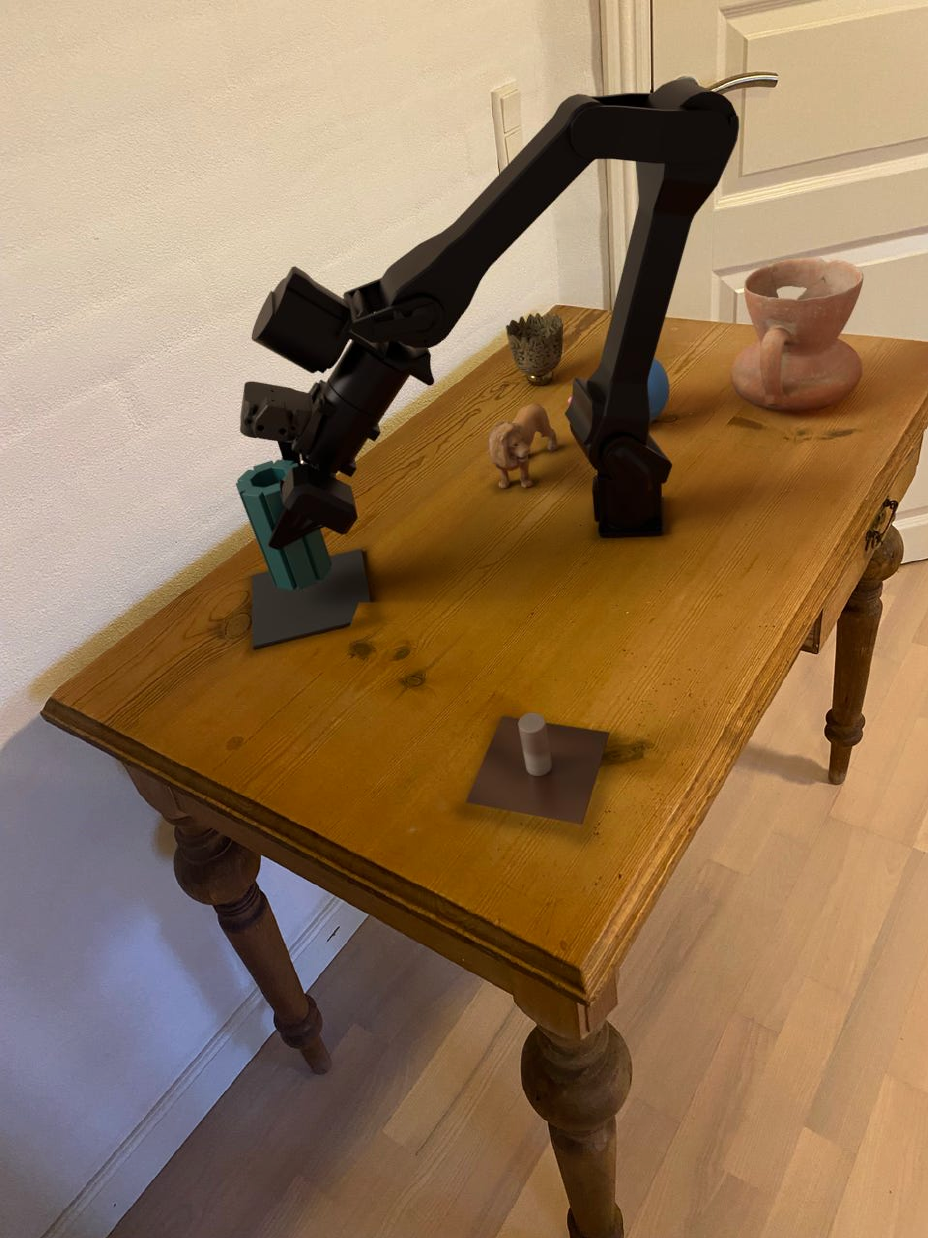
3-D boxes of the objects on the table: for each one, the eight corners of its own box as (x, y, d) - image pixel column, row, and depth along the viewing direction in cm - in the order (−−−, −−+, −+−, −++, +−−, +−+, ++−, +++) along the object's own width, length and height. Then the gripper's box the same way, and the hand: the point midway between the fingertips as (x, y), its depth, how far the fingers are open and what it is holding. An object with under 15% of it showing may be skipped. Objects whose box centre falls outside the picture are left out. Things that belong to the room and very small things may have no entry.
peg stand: (503, 723, 74) (493, 672, 70) (610, 740, 70) (606, 687, 67) (467, 810, 68) (453, 759, 64) (582, 833, 64) (576, 780, 60)
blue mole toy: (563, 410, 113) (557, 347, 107) (656, 393, 112) (655, 329, 107) (579, 457, 103) (573, 391, 98) (681, 439, 103) (681, 371, 97)
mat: (362, 551, 96) (361, 548, 96) (374, 619, 87) (373, 616, 87) (253, 577, 95) (252, 575, 95) (253, 649, 86) (252, 646, 86)
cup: (570, 389, 116) (564, 331, 111) (514, 397, 117) (506, 339, 112) (566, 365, 122) (560, 308, 117) (512, 372, 123) (505, 316, 118)
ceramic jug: (764, 356, 115) (771, 244, 106) (880, 373, 107) (898, 253, 98) (699, 421, 105) (701, 304, 96) (822, 445, 97) (836, 319, 88)
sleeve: (337, 576, 87) (306, 481, 80) (279, 597, 86) (242, 502, 79) (323, 545, 92) (292, 453, 85) (267, 565, 91) (231, 473, 84)
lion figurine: (534, 507, 97) (524, 434, 91) (487, 505, 99) (475, 433, 93) (563, 438, 107) (556, 368, 102) (520, 437, 109) (511, 369, 103)
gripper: (271, 312, 82) (196, 445, 89) (276, 397, 68) (186, 549, 74) (374, 371, 87) (296, 493, 94) (399, 462, 73) (305, 598, 80)
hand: (271, 528), depth 85 cm, fingers closed on sleeve, 6 cm apart
